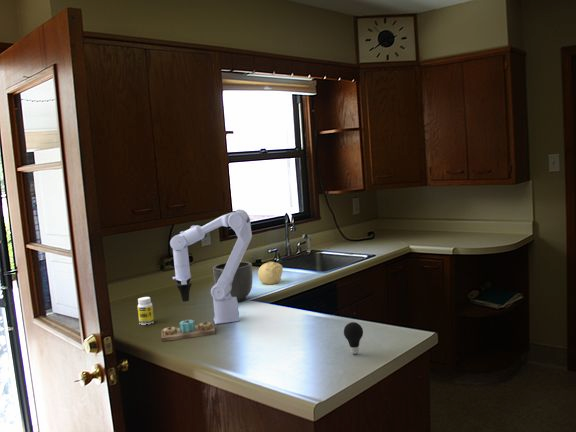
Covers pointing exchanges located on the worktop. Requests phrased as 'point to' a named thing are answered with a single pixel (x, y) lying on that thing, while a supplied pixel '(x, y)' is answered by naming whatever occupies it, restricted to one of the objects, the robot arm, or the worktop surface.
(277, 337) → the worktop surface
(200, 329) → the gear board
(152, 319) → the supplement bottle
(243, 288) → the planter
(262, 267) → the pale yellow round lump
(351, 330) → the light bulb
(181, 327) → the teal gear
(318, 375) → the worktop surface
